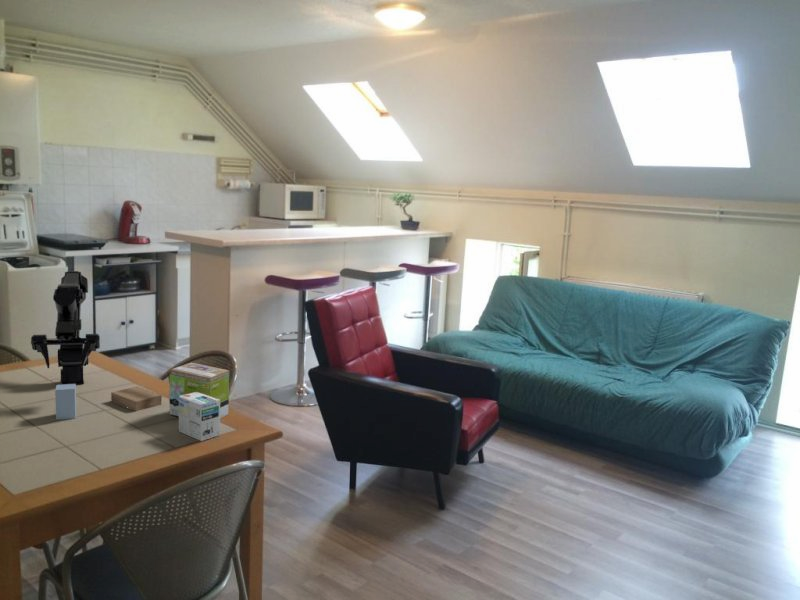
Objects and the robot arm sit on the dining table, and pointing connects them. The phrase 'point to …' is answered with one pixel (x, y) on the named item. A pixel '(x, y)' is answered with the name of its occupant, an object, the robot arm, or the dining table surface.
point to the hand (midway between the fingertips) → (65, 367)
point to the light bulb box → (199, 416)
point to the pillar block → (65, 401)
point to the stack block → (136, 398)
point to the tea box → (199, 385)
